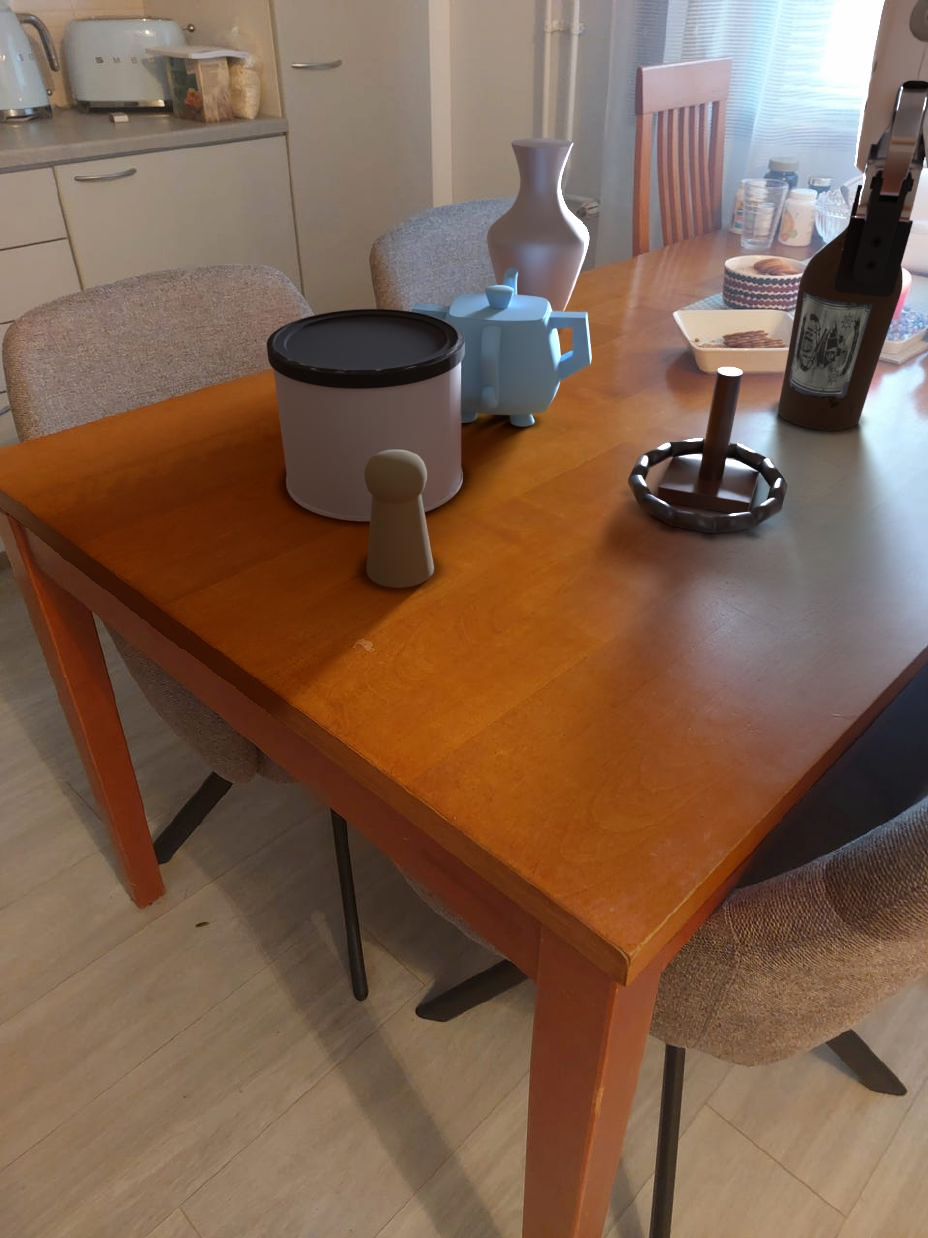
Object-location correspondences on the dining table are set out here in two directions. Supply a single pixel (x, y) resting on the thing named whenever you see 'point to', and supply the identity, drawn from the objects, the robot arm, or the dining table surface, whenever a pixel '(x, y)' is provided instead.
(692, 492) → the peg
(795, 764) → the dining table surface
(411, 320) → the container
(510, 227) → the vase
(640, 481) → the ring
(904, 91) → the robot arm
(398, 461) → the wooden peg doll
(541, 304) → the teapot
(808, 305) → the olive oil
